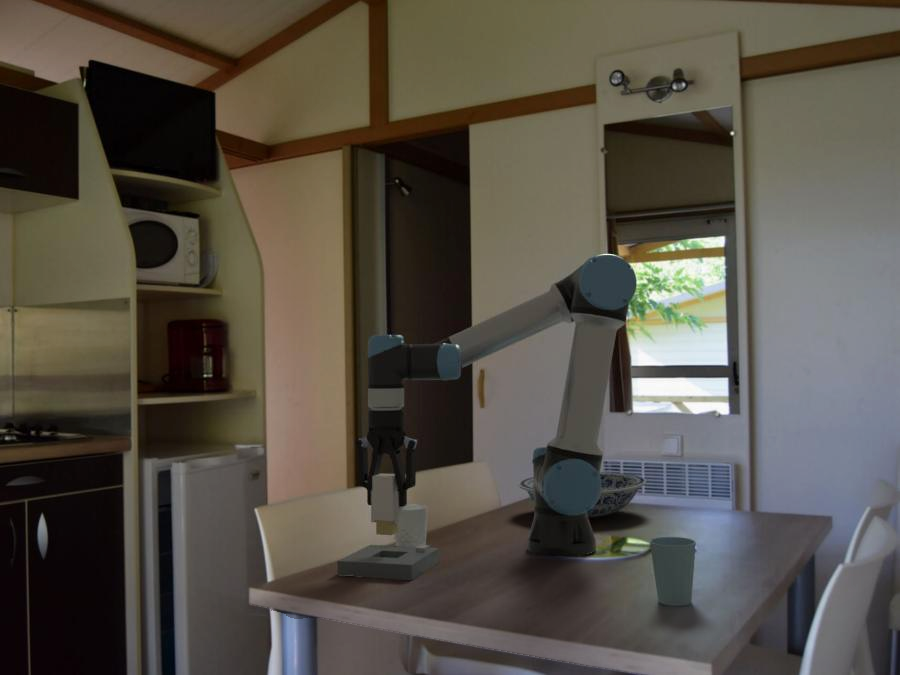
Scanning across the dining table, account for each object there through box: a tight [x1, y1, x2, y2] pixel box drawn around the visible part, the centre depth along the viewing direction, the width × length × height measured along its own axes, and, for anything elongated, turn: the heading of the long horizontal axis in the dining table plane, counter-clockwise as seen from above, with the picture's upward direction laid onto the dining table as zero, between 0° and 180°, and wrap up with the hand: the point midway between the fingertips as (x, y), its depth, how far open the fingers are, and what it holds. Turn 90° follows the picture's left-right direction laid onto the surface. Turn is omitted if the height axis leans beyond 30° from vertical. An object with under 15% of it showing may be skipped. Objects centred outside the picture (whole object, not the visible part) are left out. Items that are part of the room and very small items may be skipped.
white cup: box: [393, 503, 428, 547], centre depth 194 cm, size 8×8×10 cm
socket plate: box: [336, 544, 440, 581], centre depth 178 cm, size 16×16×4 cm
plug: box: [372, 473, 398, 536], centre depth 178 cm, size 4×4×12 cm
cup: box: [649, 536, 697, 607], centre depth 148 cm, size 8×8×10 cm
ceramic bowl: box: [518, 471, 647, 518], centre depth 234 cm, size 34×34×10 cm
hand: (387, 521), depth 178 cm, fingers closed on plug, 4 cm apart
